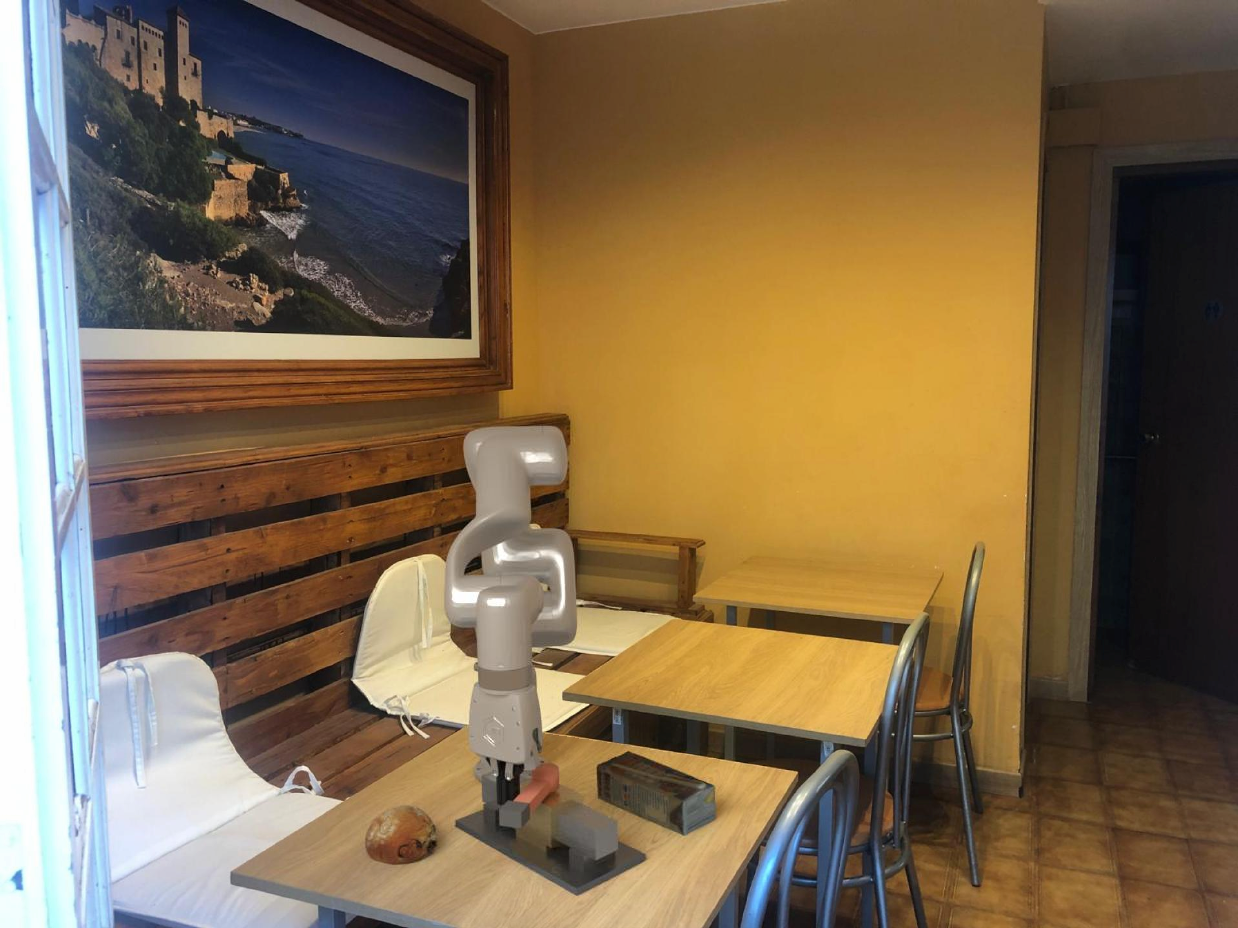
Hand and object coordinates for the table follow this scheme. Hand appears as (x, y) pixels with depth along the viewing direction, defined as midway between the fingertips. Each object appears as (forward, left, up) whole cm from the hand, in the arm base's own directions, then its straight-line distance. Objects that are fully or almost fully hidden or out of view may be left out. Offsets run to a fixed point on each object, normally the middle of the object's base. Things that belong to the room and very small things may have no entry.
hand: (508, 801), depth 139 cm
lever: (+2, +3, -1) cm, 3 cm away
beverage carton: (+3, +27, -10) cm, 28 cm away
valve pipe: (-1, +7, -9) cm, 12 cm away
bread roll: (-14, -8, -9) cm, 19 cm away
